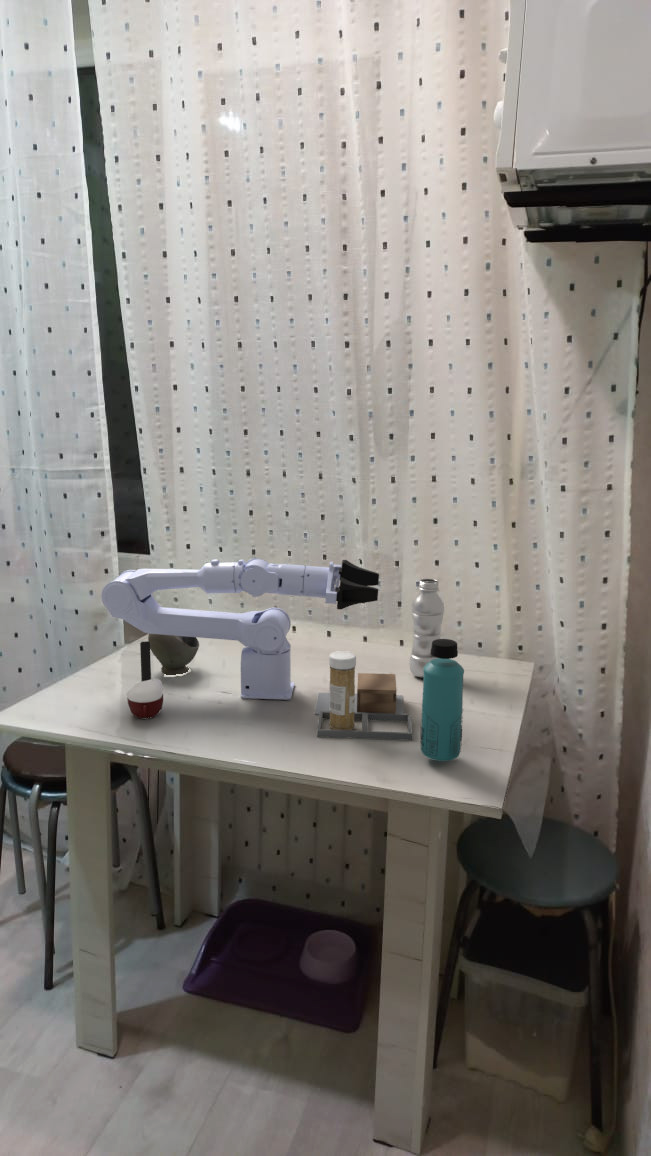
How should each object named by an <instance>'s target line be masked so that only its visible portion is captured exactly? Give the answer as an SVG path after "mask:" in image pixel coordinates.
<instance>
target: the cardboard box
mask: <svg viewBox="0 0 651 1156" xmlns="http://www.w3.org/2000/svg"><path fill="white" fill-rule="evenodd" d="M396 678H397V676H396V674H395V673H374V672H373V673H370V672H369V673H367V672H366V673H365V672H358V673H357V686H356V687H357V688H356V694H357V712H373V713H396V695H397V691H398V690H397V679H396Z"/></svg>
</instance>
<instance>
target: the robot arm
mask: <svg viewBox="0 0 651 1156" xmlns="http://www.w3.org/2000/svg"><path fill="white" fill-rule="evenodd" d="M379 580H380V573H379V572H375V571H373V570H369V569H366V568H362V567H360V566H358V565H355V564H353V563H352V562H350V561H349V560H347V559H342V561H341V564H335V562H334V561H329V567H327V566H315V565H313V566H312V565H302V564H289V563H272V562H271V563H270V562H268V561H266V560H265V559H263V558H256V557H253V558H251V559H249V560H247V562H246V561H245V559H239V560H238V561H235V562H232V561H229V562H220V560H219V559H216V558H215V559H214V558H213V559H211V561H210V562H206V563H205V564H203V566H202V567H201V568H200V569H186V568H185V569H184V568H183V569H182V568H181V569H179V568H176V569H175V568H138V569H137V570H136V569H127V570H124V571H123V572H121V573H120V574H119V575H118V576H117V577H116V578H114V580H112V581H109V582H108V583H107V584H105V586H104V587H103V588H102V591H101V601H102V603H103V606H104V607H105V609H106V610H107V611H108V612H109V614H110V615H111V617H112V618H115V619H121V620H123V621H124V622H126V623H128V624H130V625H131V626H132V627H135V628H136V629H137V630H140V631H141V632H142V633H145V634H148V635H149V634H162V635H174V636H186V637H196V638H201V639H202V638H203V639H211V640H212V639H214V640H225V641H226V640H227V641H236V642H237V641H238V642H239V643H240V644H242V646H243V648H242V650H241V654H240V698H241V699H255V700H256V699H257V700H258V699H259V700H260V699H261V700H262V699H263V700H292V695H293V692H294V687H295V682H294V681H291V679H292V678H291V672H292V669H291V662H292V660H291V657H292V656H291V655H292V654H291V651H292V650H291V644H290V642H289V640H288V639H287V635H288V633H289V631H290V630H291V625H292V624H291V619H290V616H289V614H288V613H287V612H286V611H285V610H284V609H282V608H279V607H270V608H267V609H264V610H251V611H246V612H242V613H241V612H240V613H239V612H230V611H229V612H228V611H227V612H225V611H217V610H215V611H212V610H202V609H191V608H190V609H189V608H175V607H164V606H161V605H160V604H159V602H158V601H157V600H156V598H155V597H154V595H153V594H154V593H155V592H157V591H161V590H175V589H177V590H178V589H191V588H193V589H194V588H200V589H201V590H202V591H203V592H205V593H206V594H239V593H242V592H245V593H248V595H251V596H252V597H253V598H254V597H255V598H256V597H261V596H262V595H264V594H278V595H282V596H285V595H286V596H295V597H297V596H298V597H308V598H317V599H318V598H320V599H325V601H324V603H325V604H331V605H336V609H337V610H343V609H346V608H348V607H351V606H354V605H358V604H364V603H366V604H367V603H372V602H377V601H378V599H379V598H378V597H379V588H377V587H374V586H379Z"/></svg>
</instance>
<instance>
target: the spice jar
mask: <svg viewBox="0 0 651 1156" xmlns="http://www.w3.org/2000/svg"><path fill="white" fill-rule="evenodd" d="M328 664H329V693H330V696H329V710H330V719H329V722H328V723H329V724H328V727H329V730H354V729H355V728H356V725H355V720H354V710H355V694H356V692H355V691H356V686H355V682H356V681H355V677H356V676H355V672H356V670H355V669H356V665H357V654H355V653H354V652H352V651H348V650H347V651H346V650H338V651H337V650H336V651H333V652H331V653H330V654H329V658H328Z"/></svg>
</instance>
